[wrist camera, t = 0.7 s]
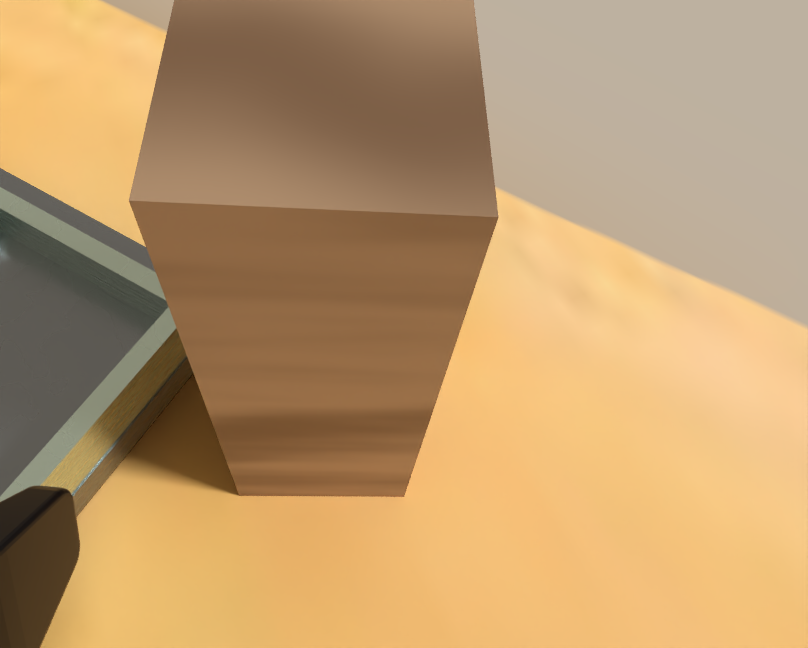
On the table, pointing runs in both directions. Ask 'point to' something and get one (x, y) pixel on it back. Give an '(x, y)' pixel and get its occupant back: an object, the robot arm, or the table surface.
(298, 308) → the tall wooden pillar
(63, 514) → the robot arm
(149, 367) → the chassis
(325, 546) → the table surface
